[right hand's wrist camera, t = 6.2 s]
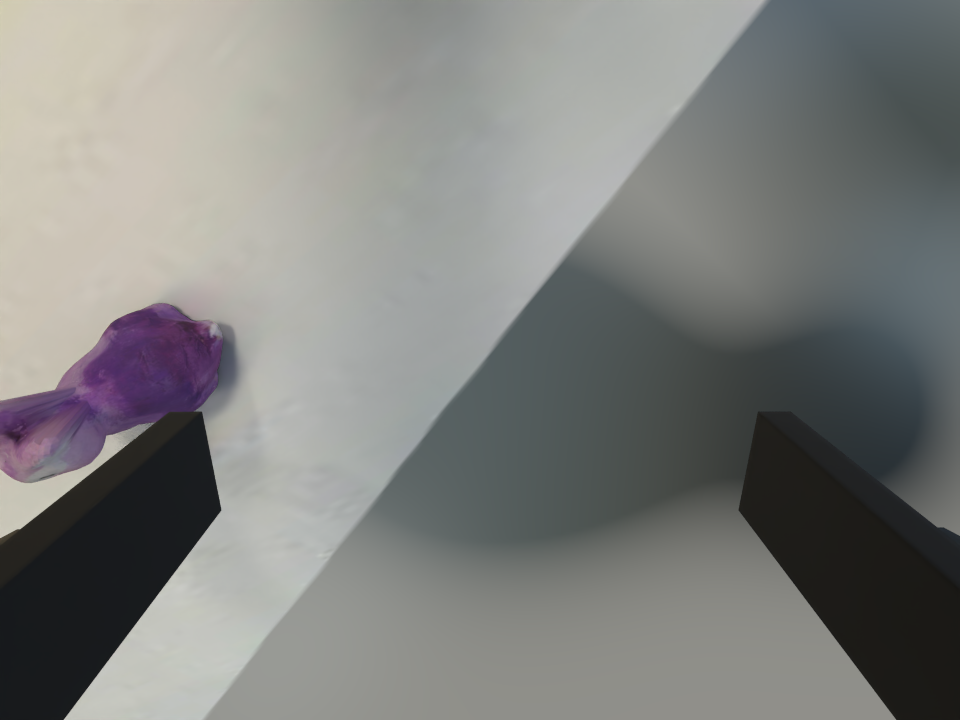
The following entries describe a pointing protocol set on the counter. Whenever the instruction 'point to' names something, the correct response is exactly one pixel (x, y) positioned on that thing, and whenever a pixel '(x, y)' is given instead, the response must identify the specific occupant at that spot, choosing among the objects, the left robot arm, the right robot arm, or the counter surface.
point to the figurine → (111, 392)
